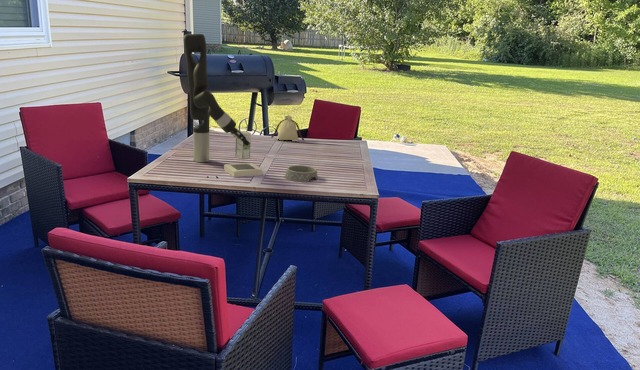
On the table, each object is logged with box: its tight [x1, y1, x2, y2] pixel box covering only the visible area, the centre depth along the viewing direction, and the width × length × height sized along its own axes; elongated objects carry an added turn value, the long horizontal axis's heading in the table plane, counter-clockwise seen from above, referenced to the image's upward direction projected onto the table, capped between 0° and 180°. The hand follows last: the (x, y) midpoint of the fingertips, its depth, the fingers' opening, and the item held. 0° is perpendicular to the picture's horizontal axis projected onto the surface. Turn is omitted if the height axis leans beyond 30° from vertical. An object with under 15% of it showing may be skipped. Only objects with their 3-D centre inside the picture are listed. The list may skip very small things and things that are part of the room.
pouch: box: [270, 114, 305, 142], centre depth 362 cm, size 25×8×19 cm, turn 91°
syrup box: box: [234, 130, 252, 160], centre depth 265 cm, size 6×6×14 cm
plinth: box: [223, 162, 263, 178], centre depth 269 cm, size 16×16×3 cm
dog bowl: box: [284, 164, 319, 183], centre depth 266 cm, size 17×18×5 cm
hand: (245, 143), depth 266 cm, fingers closed on syrup box, 7 cm apart
